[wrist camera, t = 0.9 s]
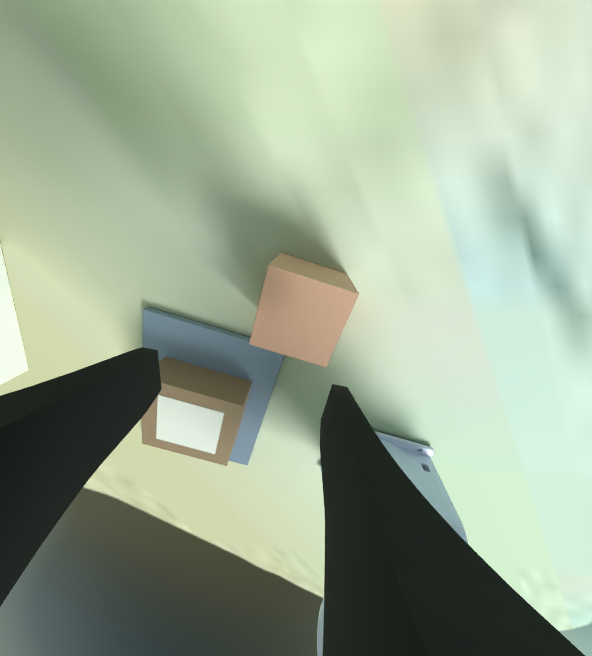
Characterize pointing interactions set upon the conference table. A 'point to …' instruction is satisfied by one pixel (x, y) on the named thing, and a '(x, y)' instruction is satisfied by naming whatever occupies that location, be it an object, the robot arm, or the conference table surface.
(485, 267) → the conference table surface
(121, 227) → the conference table surface
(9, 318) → the gable box
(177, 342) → the plate
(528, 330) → the conference table surface
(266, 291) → the terracotta cube
